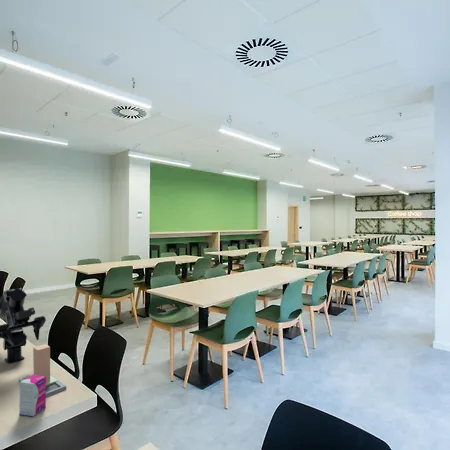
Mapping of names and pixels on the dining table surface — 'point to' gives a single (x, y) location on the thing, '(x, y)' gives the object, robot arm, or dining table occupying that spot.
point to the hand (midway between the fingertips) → (26, 342)
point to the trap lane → (51, 385)
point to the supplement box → (32, 395)
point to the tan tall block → (42, 361)
